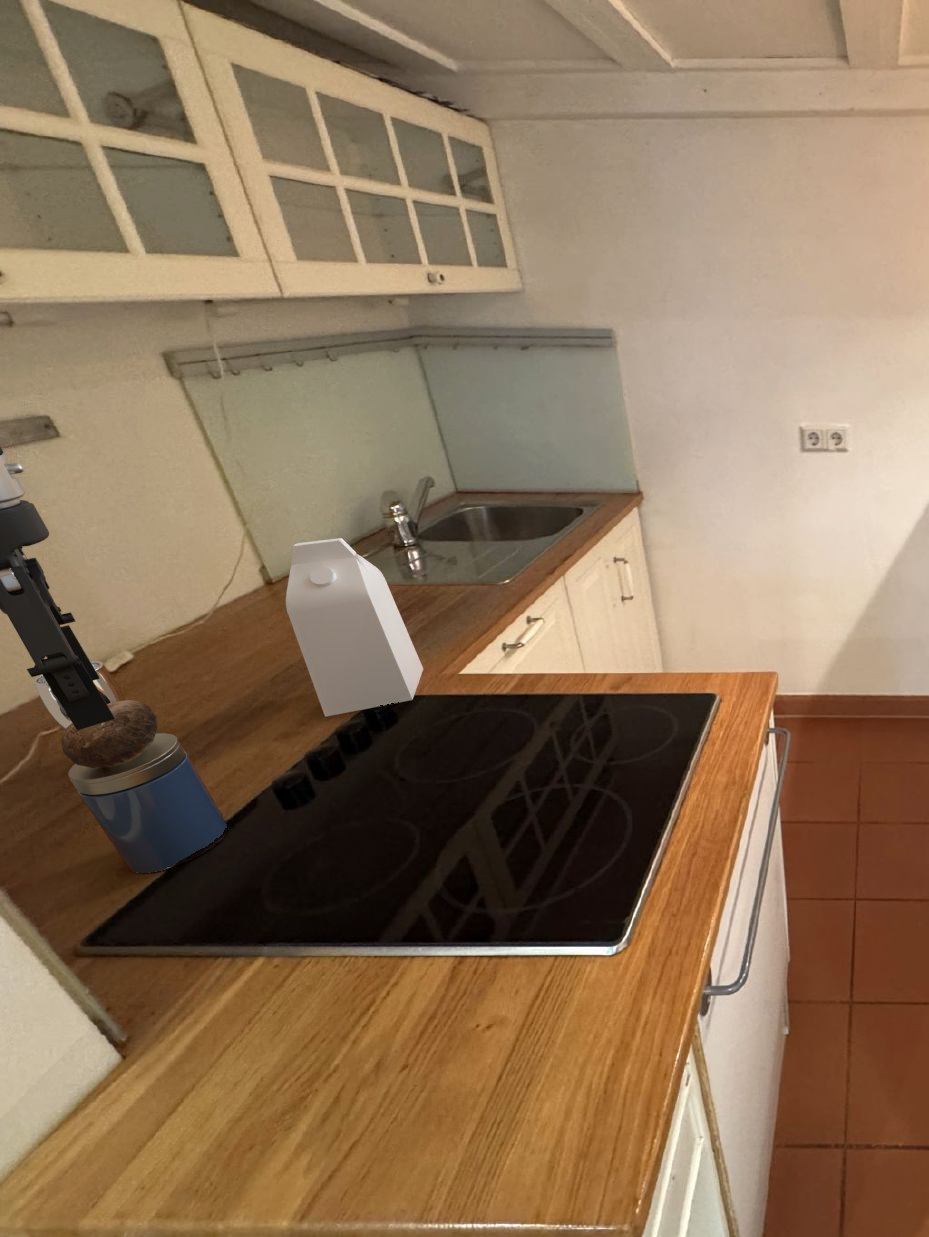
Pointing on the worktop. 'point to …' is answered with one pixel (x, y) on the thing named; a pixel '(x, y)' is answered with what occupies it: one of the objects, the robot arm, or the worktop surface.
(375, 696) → the milk
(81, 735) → the brown potato
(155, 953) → the worktop surface
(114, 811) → the jar
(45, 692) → the shiny silver metal cup
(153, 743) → the jar lid
